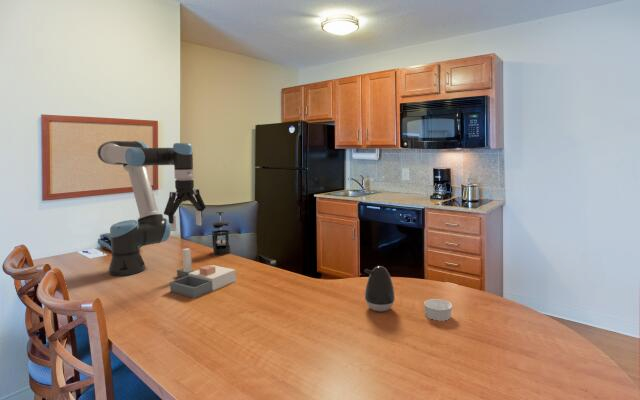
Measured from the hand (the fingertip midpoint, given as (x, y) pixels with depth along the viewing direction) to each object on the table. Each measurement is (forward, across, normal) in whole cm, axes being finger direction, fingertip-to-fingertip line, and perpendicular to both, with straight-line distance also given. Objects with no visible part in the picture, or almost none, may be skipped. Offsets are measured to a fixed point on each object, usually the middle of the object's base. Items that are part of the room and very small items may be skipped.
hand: (186, 228), depth 160 cm
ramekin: (+21, +13, -105) cm, 108 cm away
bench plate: (+22, 0, -15) cm, 27 cm away
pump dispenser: (+21, +10, -86) cm, 89 cm away
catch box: (+22, -11, -15) cm, 29 cm away
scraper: (+22, 0, 0) cm, 22 cm away
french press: (+23, +37, +18) cm, 47 cm away
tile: (+17, -3, -15) cm, 23 cm away
